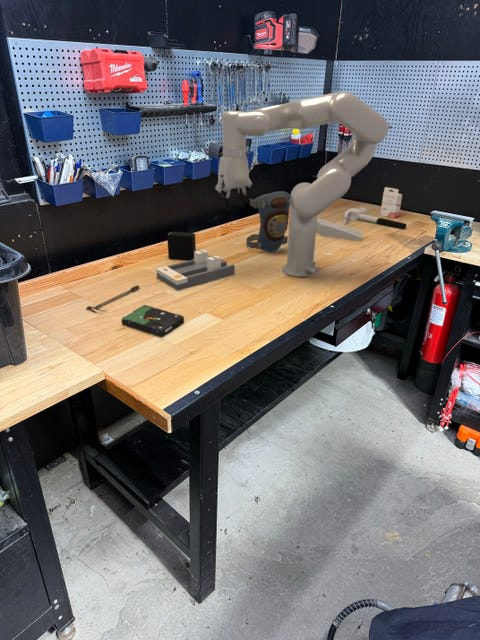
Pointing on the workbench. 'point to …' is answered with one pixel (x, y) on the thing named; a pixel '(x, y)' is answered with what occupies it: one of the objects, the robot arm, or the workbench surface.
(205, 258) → the tab far
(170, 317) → the disk drive
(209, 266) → the tab near
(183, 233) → the electronic device
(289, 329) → the workbench surface
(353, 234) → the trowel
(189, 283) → the grey slotted tray
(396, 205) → the ink cartridge box
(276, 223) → the knee pad
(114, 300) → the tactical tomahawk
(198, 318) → the workbench surface
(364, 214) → the claw hammer
